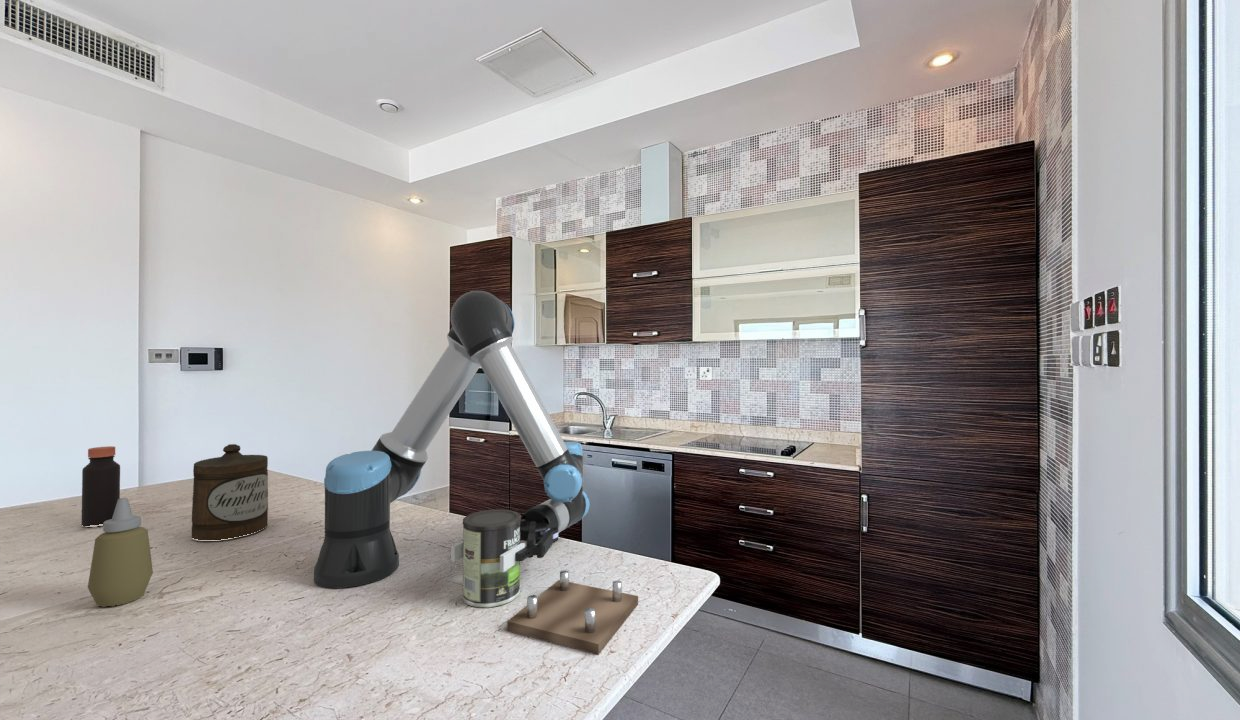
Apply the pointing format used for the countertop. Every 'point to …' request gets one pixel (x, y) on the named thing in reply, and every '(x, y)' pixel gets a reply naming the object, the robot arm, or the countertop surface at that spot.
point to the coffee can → (490, 557)
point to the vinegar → (100, 486)
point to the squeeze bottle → (120, 559)
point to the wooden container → (229, 495)
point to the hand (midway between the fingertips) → (476, 558)
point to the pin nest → (574, 614)
